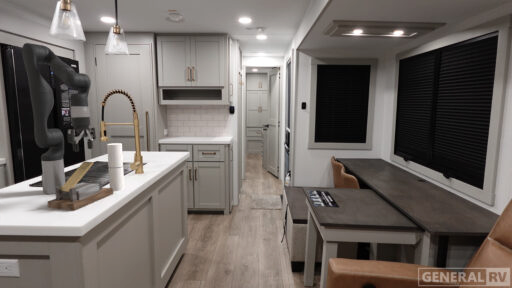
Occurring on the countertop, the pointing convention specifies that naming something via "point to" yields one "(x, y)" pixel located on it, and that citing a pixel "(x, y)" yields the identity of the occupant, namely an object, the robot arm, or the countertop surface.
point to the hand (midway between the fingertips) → (83, 150)
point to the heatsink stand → (79, 196)
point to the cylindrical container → (115, 166)
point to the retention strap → (76, 176)
